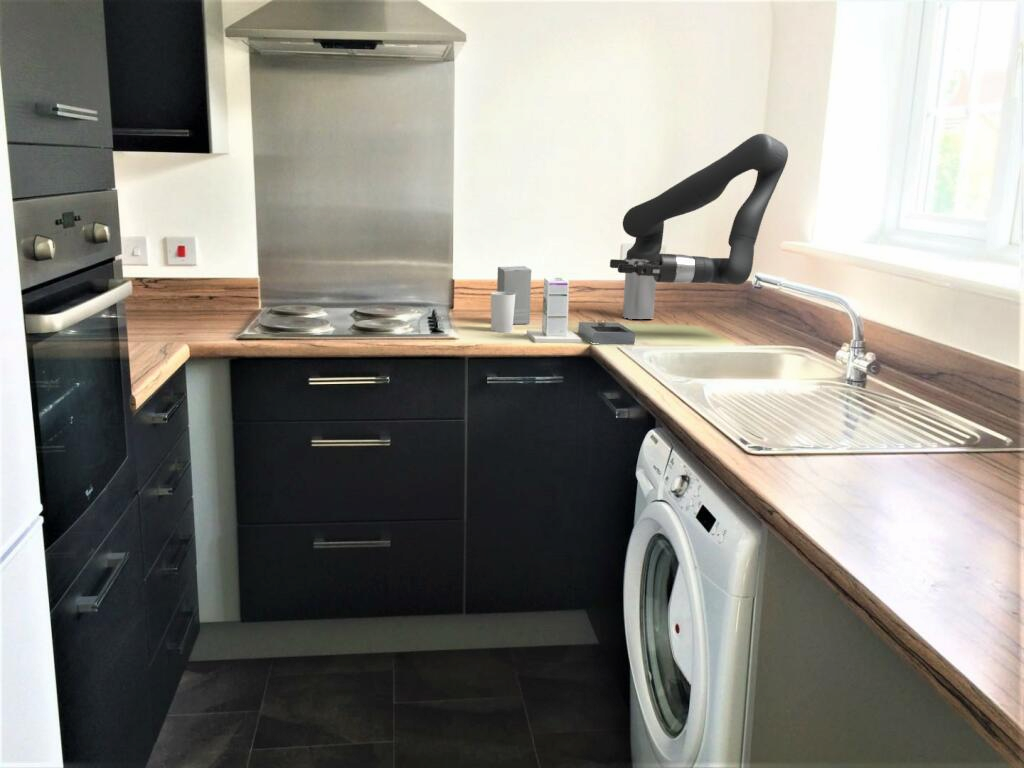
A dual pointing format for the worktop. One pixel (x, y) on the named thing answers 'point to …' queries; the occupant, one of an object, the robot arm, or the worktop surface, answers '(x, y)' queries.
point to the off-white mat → (553, 337)
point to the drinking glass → (502, 311)
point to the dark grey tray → (606, 332)
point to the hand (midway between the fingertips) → (614, 265)
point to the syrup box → (555, 306)
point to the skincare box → (517, 290)
